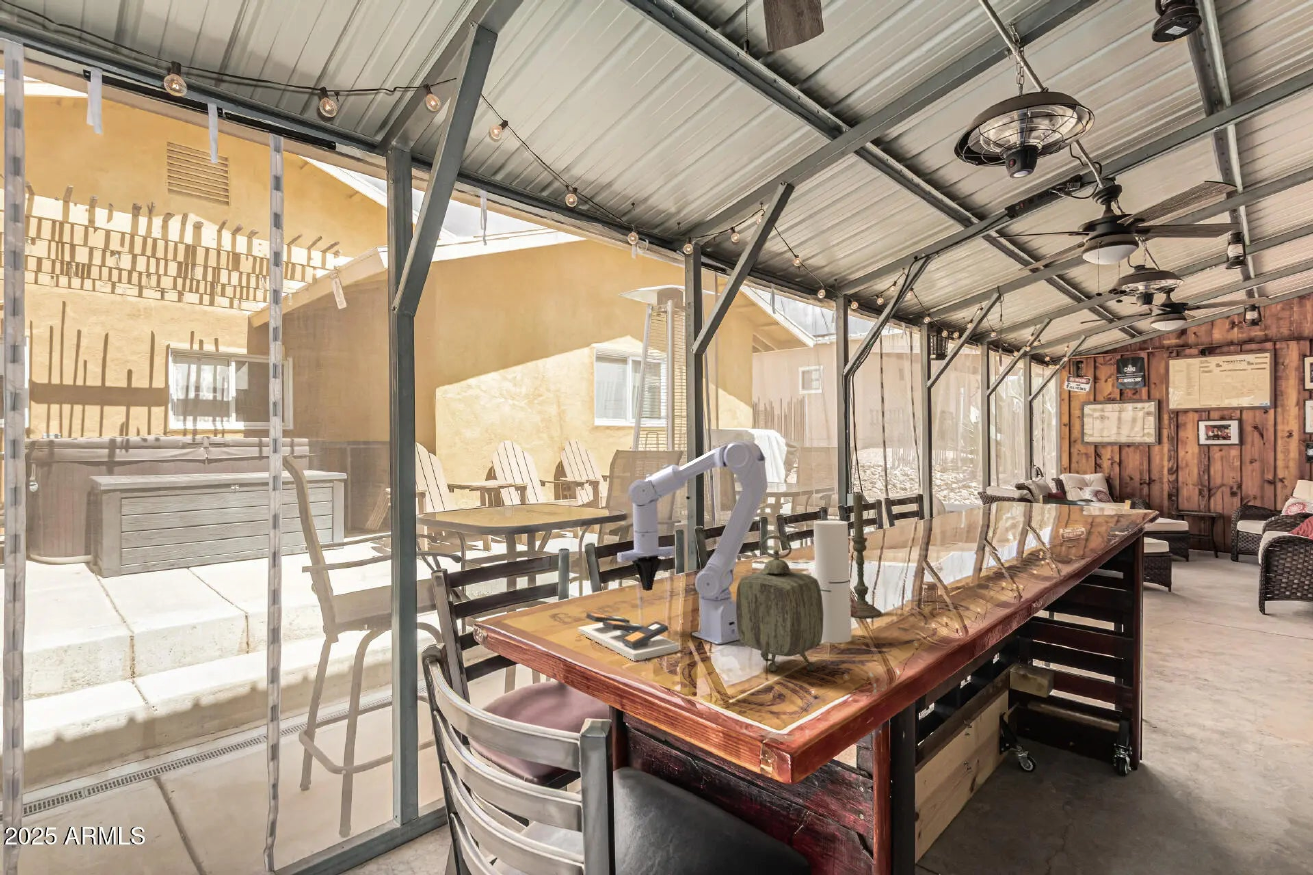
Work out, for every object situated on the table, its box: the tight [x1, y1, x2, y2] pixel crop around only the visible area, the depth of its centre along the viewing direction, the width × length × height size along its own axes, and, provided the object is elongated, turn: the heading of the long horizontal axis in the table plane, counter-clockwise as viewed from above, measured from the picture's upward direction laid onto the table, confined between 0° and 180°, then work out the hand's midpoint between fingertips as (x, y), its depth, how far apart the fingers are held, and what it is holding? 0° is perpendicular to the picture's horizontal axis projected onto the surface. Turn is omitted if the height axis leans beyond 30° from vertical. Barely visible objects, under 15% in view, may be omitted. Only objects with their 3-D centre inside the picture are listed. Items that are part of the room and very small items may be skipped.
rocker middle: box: [602, 621, 646, 631], centre depth 143 cm, size 4×9×1 cm, turn 123°
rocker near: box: [621, 621, 669, 648], centre depth 137 cm, size 4×9×1 cm, turn 123°
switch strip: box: [577, 622, 680, 662], centre depth 143 cm, size 25×11×2 cm, turn 33°
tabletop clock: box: [735, 534, 824, 673], centre depth 123 cm, size 14×9×25 cm, turn 43°
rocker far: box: [585, 613, 631, 623], centre depth 150 cm, size 4×9×1 cm, turn 123°
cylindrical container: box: [813, 520, 852, 644], centre depth 142 cm, size 7×7×25 cm
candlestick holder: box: [850, 491, 882, 619], centre depth 162 cm, size 9×9×30 cm
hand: (647, 589), depth 152 cm, fingers closed
